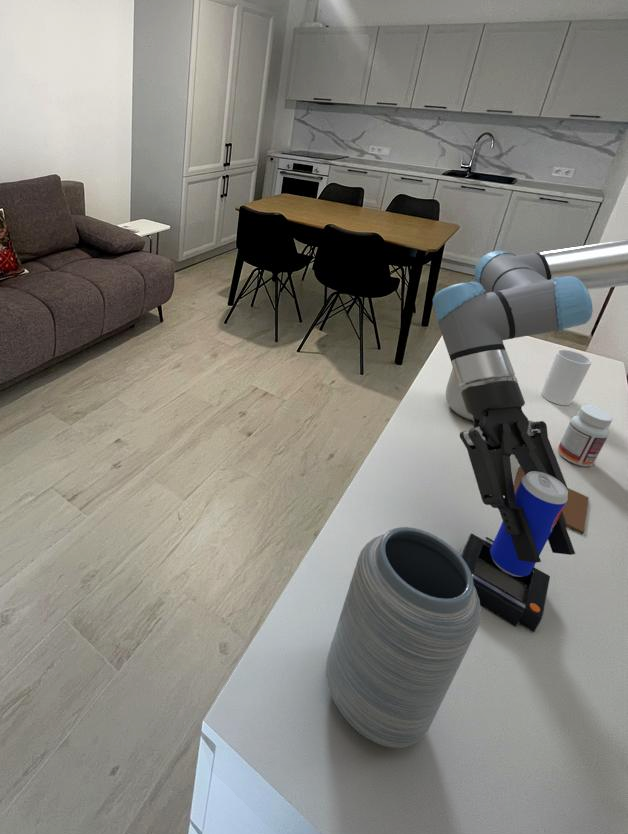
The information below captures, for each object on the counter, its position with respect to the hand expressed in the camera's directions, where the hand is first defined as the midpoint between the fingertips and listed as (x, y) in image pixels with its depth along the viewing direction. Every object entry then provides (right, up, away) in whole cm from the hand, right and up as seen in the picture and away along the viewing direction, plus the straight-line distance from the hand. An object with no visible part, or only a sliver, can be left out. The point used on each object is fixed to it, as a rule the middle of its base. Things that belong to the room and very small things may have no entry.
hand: (546, 556), depth 66 cm
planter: (+19, +8, +49) cm, 53 cm away
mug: (+46, +10, +58) cm, 75 cm away
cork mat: (+19, -2, +25) cm, 31 cm away
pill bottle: (+33, +1, +37) cm, 49 cm away
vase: (-26, -13, -8) cm, 30 cm away
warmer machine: (-2, -8, +7) cm, 11 cm away
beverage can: (-1, -4, +6) cm, 7 cm away
